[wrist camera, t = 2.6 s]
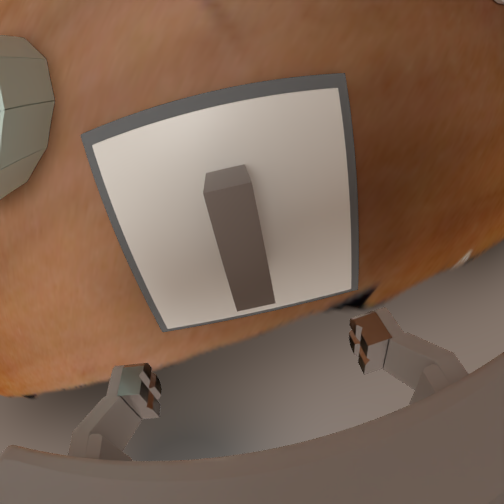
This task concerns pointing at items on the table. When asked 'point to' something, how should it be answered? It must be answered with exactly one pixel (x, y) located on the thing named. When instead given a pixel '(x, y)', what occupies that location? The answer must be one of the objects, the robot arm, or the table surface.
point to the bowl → (22, 111)
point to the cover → (235, 205)
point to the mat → (214, 100)
